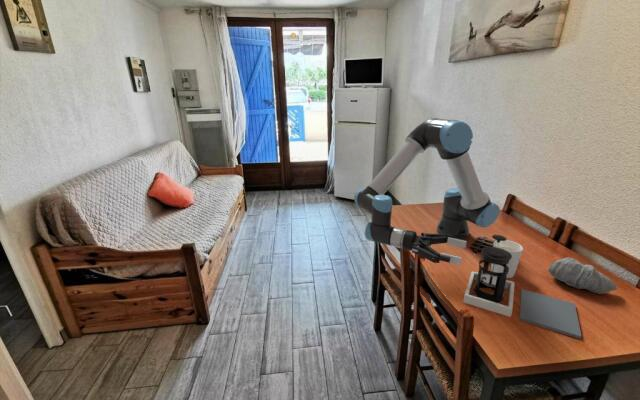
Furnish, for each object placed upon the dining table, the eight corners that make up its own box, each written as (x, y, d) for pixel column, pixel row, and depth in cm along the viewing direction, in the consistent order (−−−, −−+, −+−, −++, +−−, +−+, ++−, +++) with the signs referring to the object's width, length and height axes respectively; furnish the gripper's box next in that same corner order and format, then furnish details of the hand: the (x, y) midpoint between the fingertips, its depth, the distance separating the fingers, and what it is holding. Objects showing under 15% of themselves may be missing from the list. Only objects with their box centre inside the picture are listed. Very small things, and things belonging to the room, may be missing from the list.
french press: (468, 285, 113) (477, 230, 105) (493, 285, 113) (504, 229, 105) (483, 306, 102) (495, 246, 94) (511, 306, 102) (526, 245, 94)
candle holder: (513, 267, 123) (519, 241, 119) (519, 281, 115) (526, 253, 111) (486, 263, 127) (491, 238, 122) (490, 276, 118) (496, 249, 114)
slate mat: (519, 320, 96) (520, 317, 95) (521, 291, 109) (521, 289, 109) (580, 339, 88) (581, 336, 88) (573, 305, 101) (574, 303, 101)
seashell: (617, 295, 106) (626, 270, 103) (587, 303, 102) (595, 278, 99) (570, 270, 121) (576, 248, 117) (542, 277, 117) (548, 254, 113)
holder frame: (463, 302, 104) (464, 295, 103) (470, 277, 118) (472, 271, 117) (510, 317, 97) (512, 309, 96) (512, 289, 110) (514, 282, 109)
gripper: (412, 235, 129) (466, 247, 118) (393, 262, 109) (457, 279, 98) (413, 219, 126) (469, 229, 116) (394, 243, 106) (460, 259, 96)
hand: (463, 252), depth 107 cm, fingers open, 13 cm apart
